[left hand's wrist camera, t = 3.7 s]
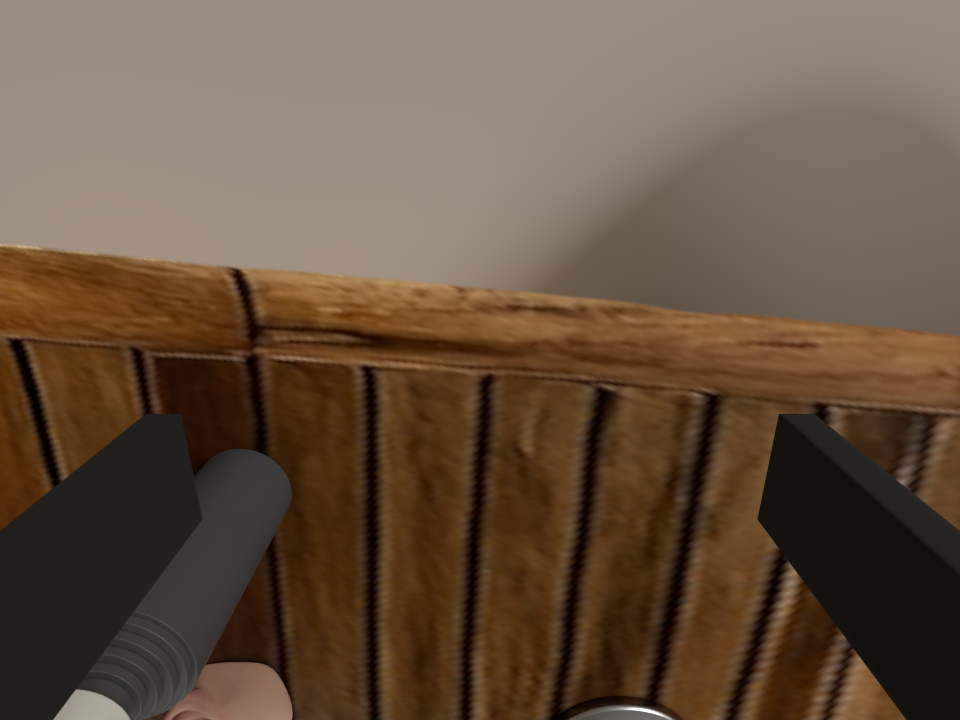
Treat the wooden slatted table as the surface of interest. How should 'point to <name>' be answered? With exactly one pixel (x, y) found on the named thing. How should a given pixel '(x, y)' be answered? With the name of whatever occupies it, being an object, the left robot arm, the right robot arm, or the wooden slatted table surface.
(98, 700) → the cap
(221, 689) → the anatomical model
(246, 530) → the bottle
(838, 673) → the wooden slatted table surface
